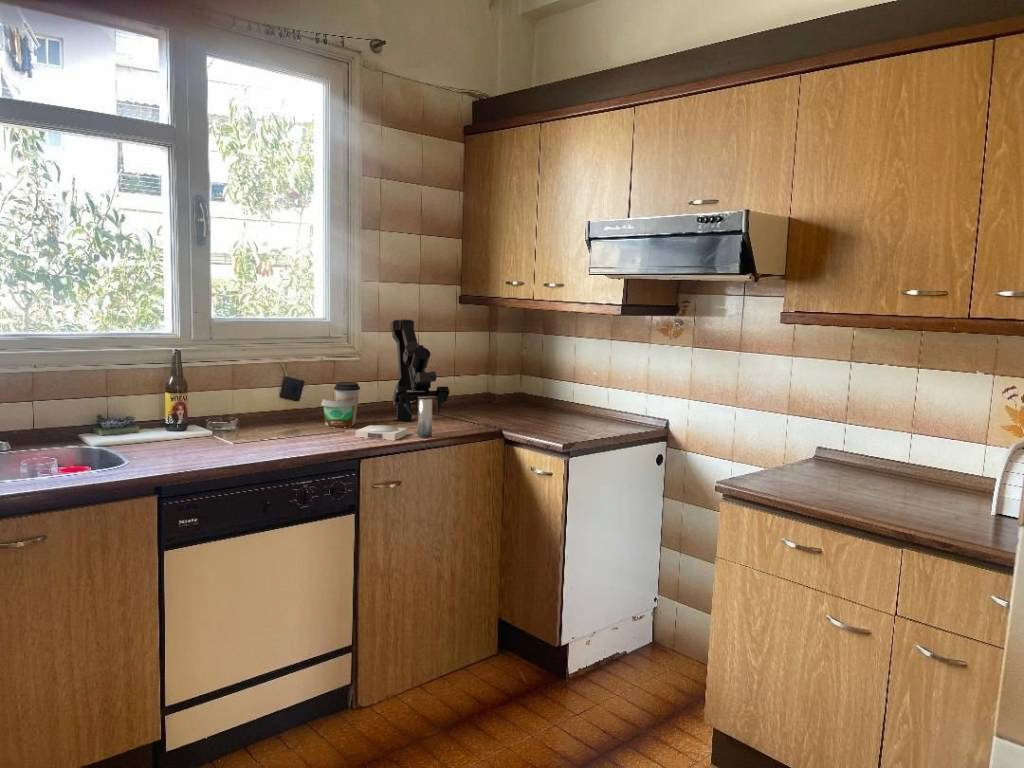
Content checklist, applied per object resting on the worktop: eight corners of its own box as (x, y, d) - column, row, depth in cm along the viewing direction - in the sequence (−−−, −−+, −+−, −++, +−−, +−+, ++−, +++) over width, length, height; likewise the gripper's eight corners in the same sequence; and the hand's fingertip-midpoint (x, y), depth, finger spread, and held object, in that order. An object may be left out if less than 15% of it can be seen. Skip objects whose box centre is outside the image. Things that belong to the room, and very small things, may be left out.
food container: (321, 429, 262) (321, 401, 261) (321, 426, 268) (321, 398, 266) (357, 429, 265) (357, 401, 264) (356, 425, 271) (356, 398, 270)
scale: (369, 431, 261) (369, 423, 260) (407, 434, 257) (407, 426, 257) (355, 437, 250) (355, 429, 249) (393, 440, 246) (394, 432, 246)
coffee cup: (329, 425, 271) (329, 384, 269) (341, 420, 280) (341, 381, 278) (353, 426, 269) (353, 385, 267) (364, 422, 278) (364, 382, 276)
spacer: (420, 435, 257) (421, 397, 256) (433, 436, 256) (434, 398, 254) (415, 437, 253) (416, 399, 251) (428, 438, 251) (429, 400, 250)
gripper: (395, 363, 253) (401, 399, 244) (448, 363, 260) (456, 398, 250) (390, 383, 261) (396, 420, 252) (442, 383, 268) (450, 418, 259)
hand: (425, 413), depth 253 cm, fingers open, 9 cm apart
